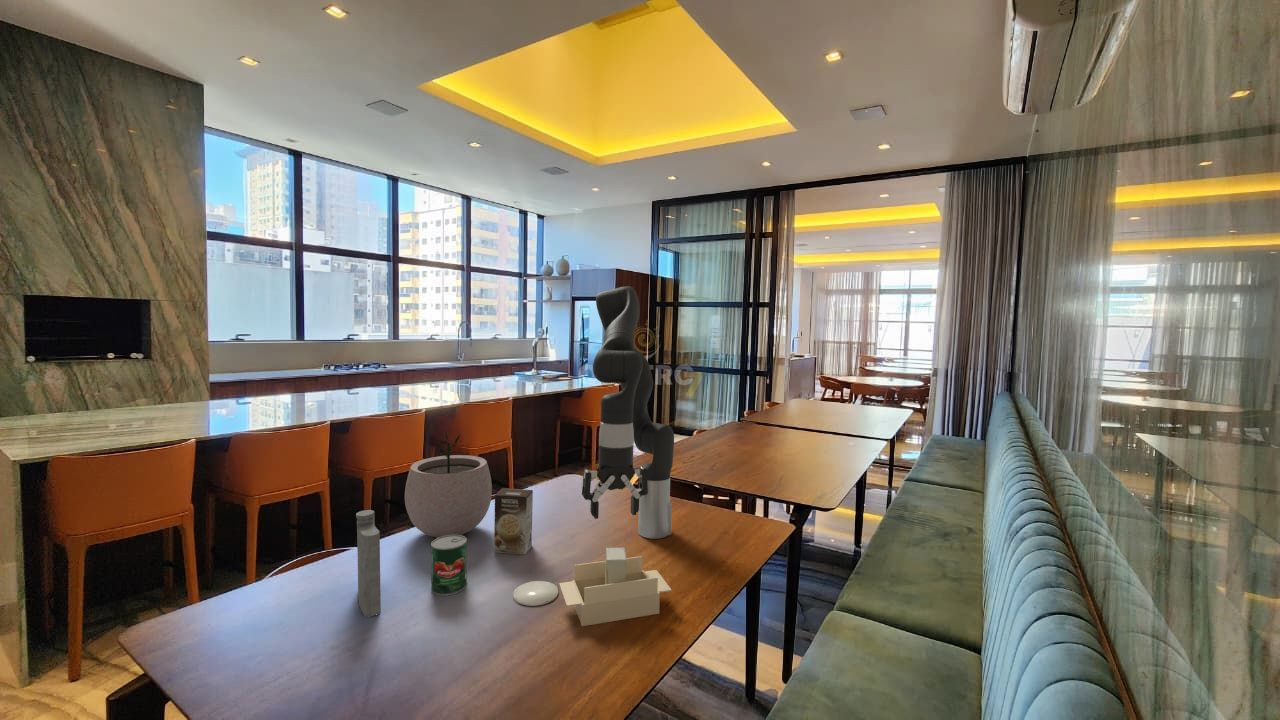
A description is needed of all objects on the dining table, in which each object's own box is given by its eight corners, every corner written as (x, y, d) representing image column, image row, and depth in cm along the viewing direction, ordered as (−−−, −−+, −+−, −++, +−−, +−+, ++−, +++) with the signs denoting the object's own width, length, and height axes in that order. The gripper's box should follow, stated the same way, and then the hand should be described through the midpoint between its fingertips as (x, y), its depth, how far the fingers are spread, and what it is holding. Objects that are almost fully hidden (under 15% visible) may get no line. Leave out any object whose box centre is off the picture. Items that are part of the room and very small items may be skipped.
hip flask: (381, 614, 110) (380, 522, 109) (359, 619, 108) (358, 525, 106) (374, 582, 123) (373, 499, 122) (355, 586, 121) (354, 502, 120)
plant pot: (385, 541, 146) (384, 436, 144) (446, 513, 168) (446, 422, 166) (453, 557, 137) (453, 445, 135) (508, 525, 160) (508, 429, 158)
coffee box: (492, 553, 140) (492, 494, 139) (501, 543, 147) (501, 487, 145) (525, 555, 139) (526, 496, 138) (533, 545, 146) (533, 489, 145)
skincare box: (604, 599, 118) (605, 547, 117) (623, 598, 118) (624, 546, 117) (604, 614, 111) (605, 559, 111) (625, 614, 112) (626, 559, 111)
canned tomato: (441, 599, 116) (440, 551, 116) (425, 587, 122) (424, 541, 121) (473, 586, 122) (473, 541, 121) (456, 575, 127) (456, 531, 127)
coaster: (554, 581, 125) (554, 578, 125) (561, 602, 116) (561, 599, 116) (511, 586, 122) (511, 584, 122) (515, 608, 113) (515, 606, 113)
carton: (655, 587, 124) (655, 554, 123) (672, 611, 113) (673, 575, 113) (558, 601, 116) (558, 566, 116) (567, 628, 106) (567, 590, 105)
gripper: (642, 437, 118) (640, 507, 119) (580, 440, 114) (579, 512, 115) (652, 444, 111) (651, 519, 112) (587, 447, 107) (586, 525, 108)
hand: (614, 515), depth 113 cm, fingers open, 8 cm apart
